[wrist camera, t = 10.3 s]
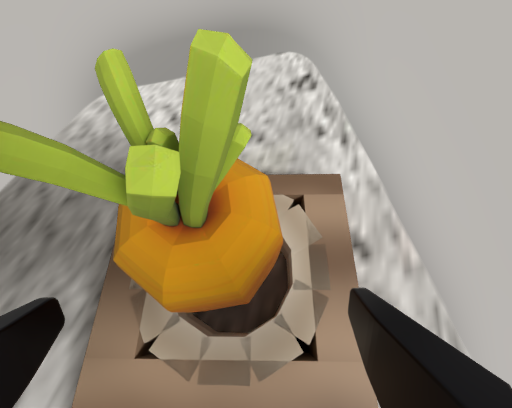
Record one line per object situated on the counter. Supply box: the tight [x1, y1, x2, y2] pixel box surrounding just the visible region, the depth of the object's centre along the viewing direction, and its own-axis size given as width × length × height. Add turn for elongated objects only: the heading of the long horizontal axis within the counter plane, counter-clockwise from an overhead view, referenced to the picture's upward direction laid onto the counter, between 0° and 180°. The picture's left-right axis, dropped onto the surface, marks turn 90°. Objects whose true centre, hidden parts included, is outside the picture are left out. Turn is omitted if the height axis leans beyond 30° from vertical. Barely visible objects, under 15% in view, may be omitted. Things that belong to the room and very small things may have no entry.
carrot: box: [0, 29, 283, 313], centre depth 9 cm, size 5×5×15 cm
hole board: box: [71, 174, 378, 408], centre depth 14 cm, size 18×14×3 cm
